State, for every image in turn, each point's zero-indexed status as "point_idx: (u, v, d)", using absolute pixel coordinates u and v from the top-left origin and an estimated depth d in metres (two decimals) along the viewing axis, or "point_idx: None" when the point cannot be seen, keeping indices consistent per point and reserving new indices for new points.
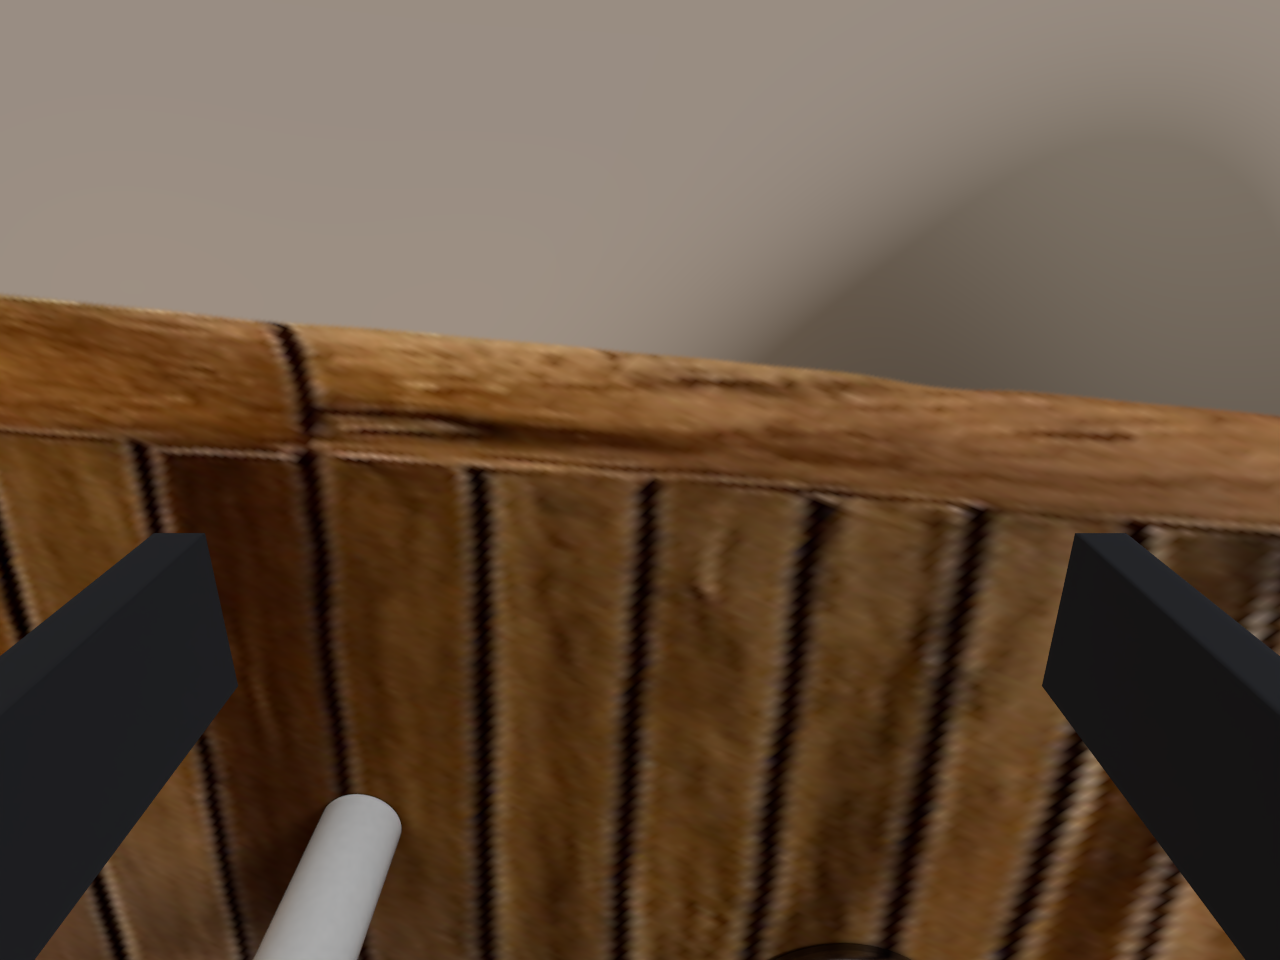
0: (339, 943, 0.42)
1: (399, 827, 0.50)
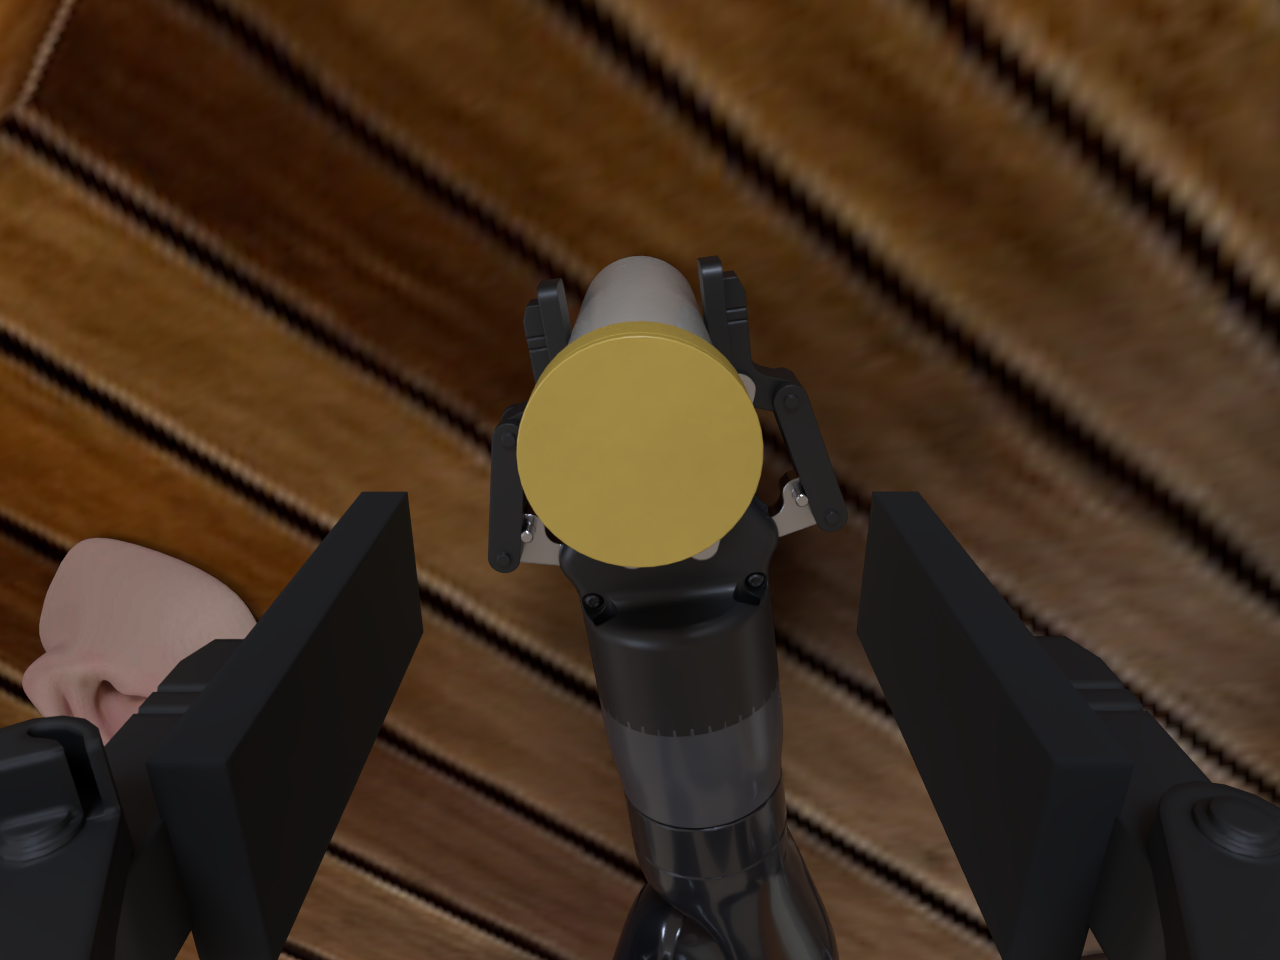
0: (637, 293, 0.26)
1: (670, 266, 0.34)
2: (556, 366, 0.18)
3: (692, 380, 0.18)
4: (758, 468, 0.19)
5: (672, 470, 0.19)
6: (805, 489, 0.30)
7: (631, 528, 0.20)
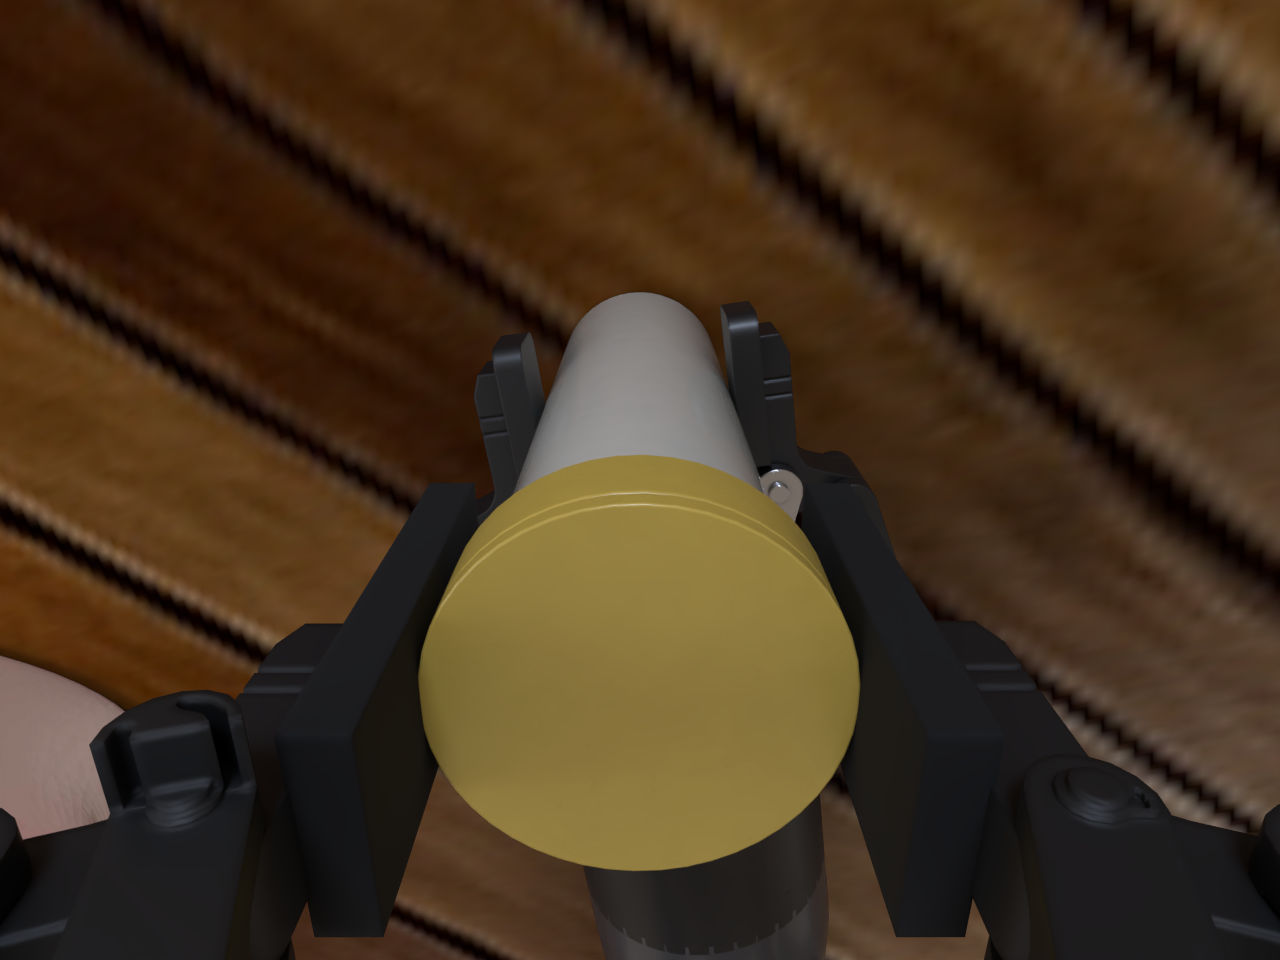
0: (636, 365, 0.17)
1: (680, 306, 0.26)
2: (484, 554, 0.10)
3: (736, 580, 0.10)
4: (850, 723, 0.11)
5: (696, 725, 0.11)
6: None
7: (624, 814, 0.11)
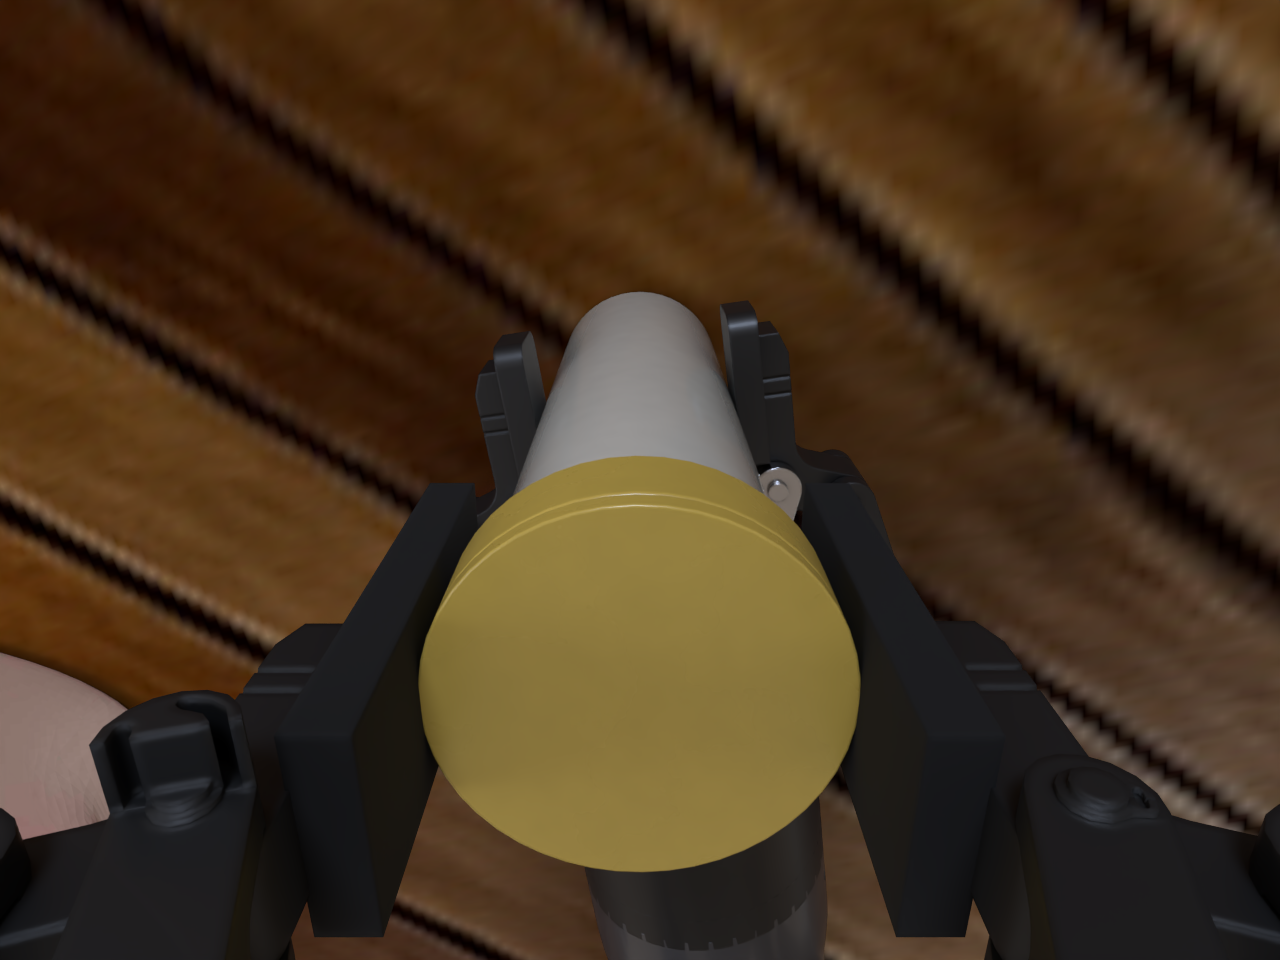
0: (636, 364, 0.17)
1: (680, 305, 0.26)
2: (490, 818, 0.11)
3: (486, 633, 0.10)
4: (649, 514, 0.10)
5: (660, 657, 0.10)
6: None
7: (777, 716, 0.11)
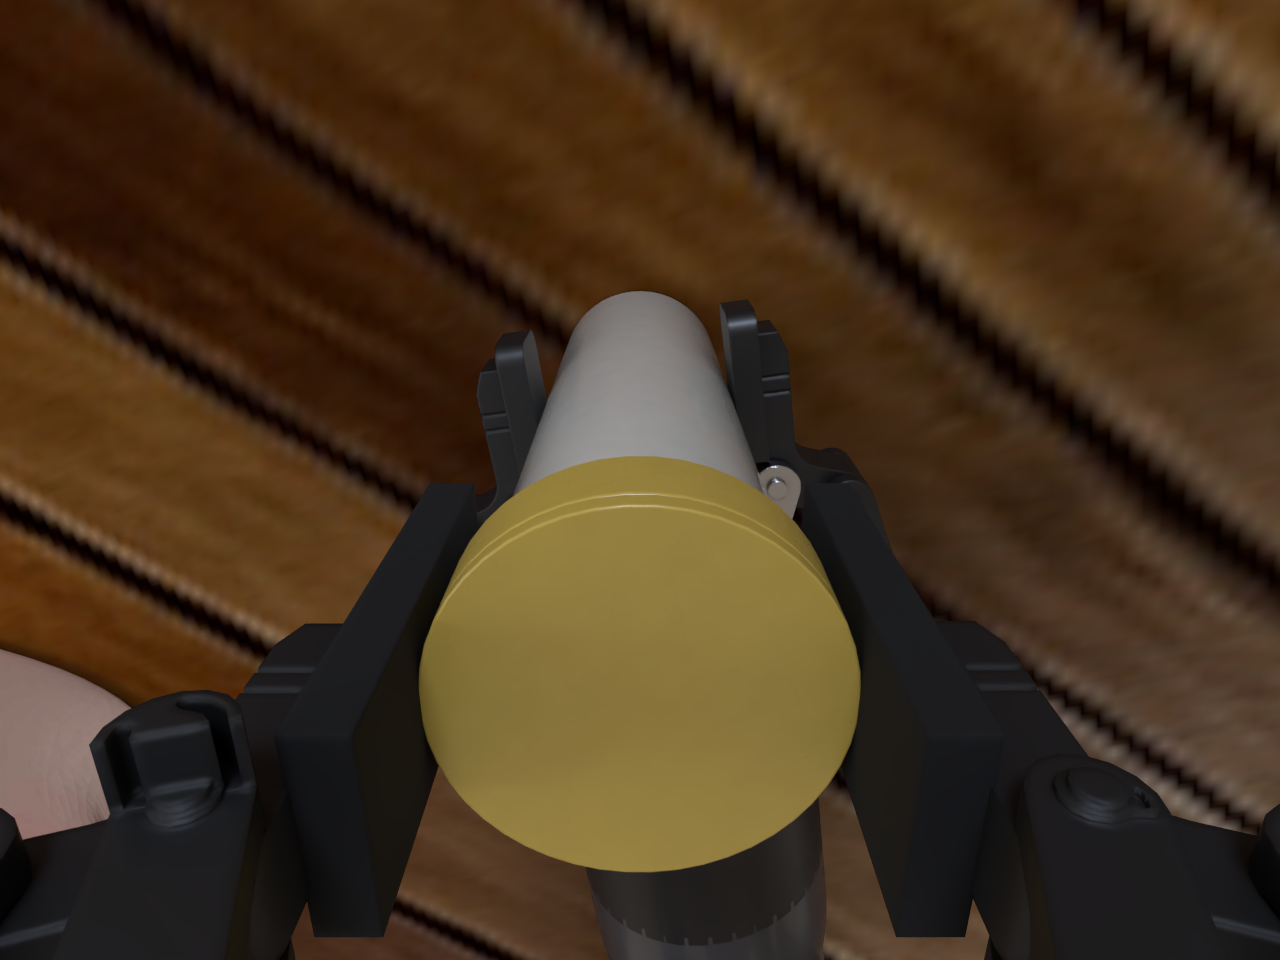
0: (637, 362, 0.18)
1: (680, 304, 0.26)
2: None
3: (565, 824, 0.11)
4: (425, 709, 0.11)
5: (578, 692, 0.11)
6: None
7: (644, 585, 0.10)
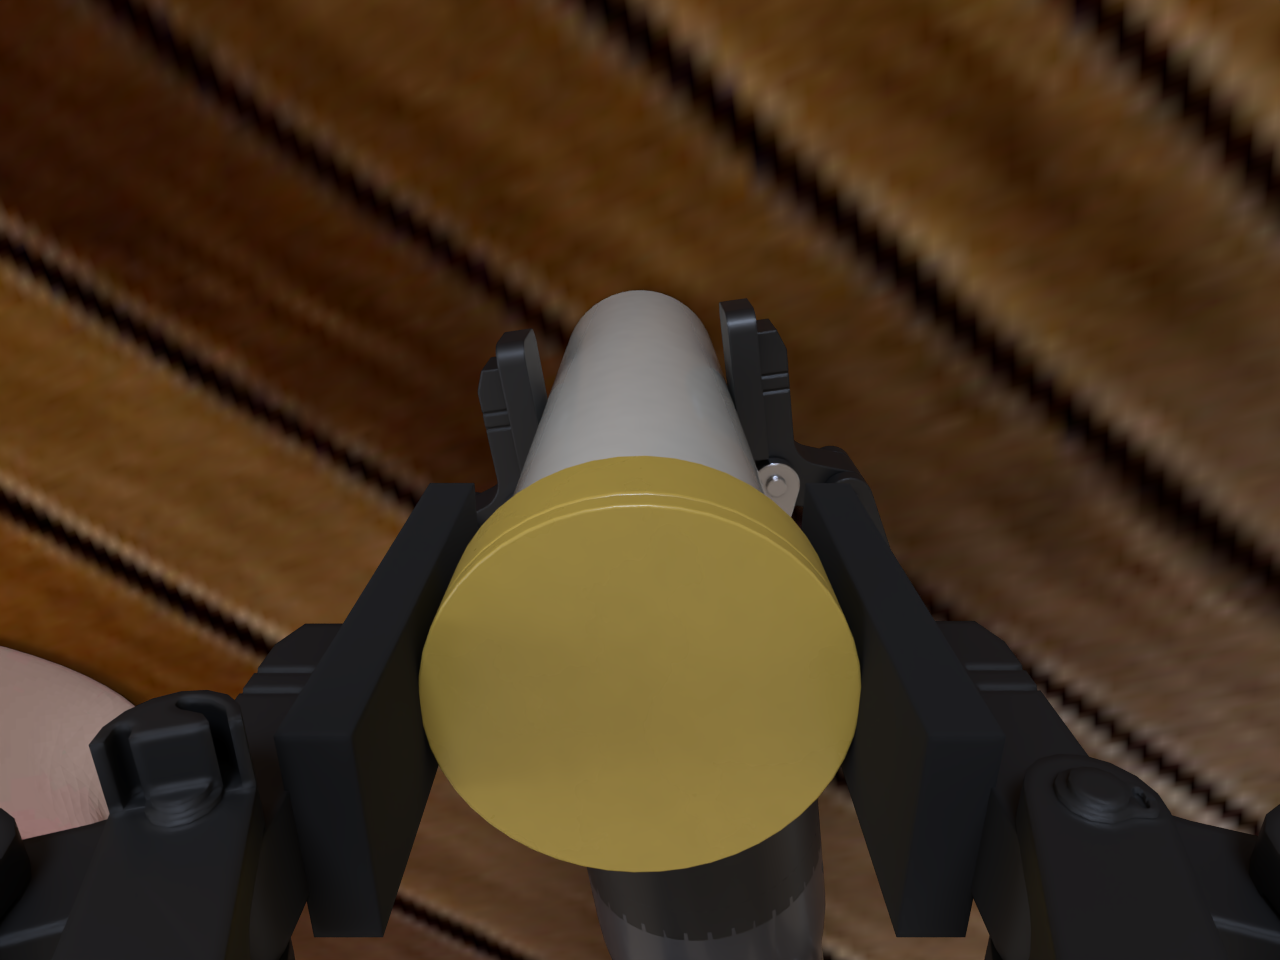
0: (637, 360, 0.18)
1: (680, 303, 0.26)
2: (797, 558, 0.10)
3: (788, 766, 0.11)
4: (647, 870, 0.12)
5: (624, 756, 0.11)
6: None
7: (500, 709, 0.11)
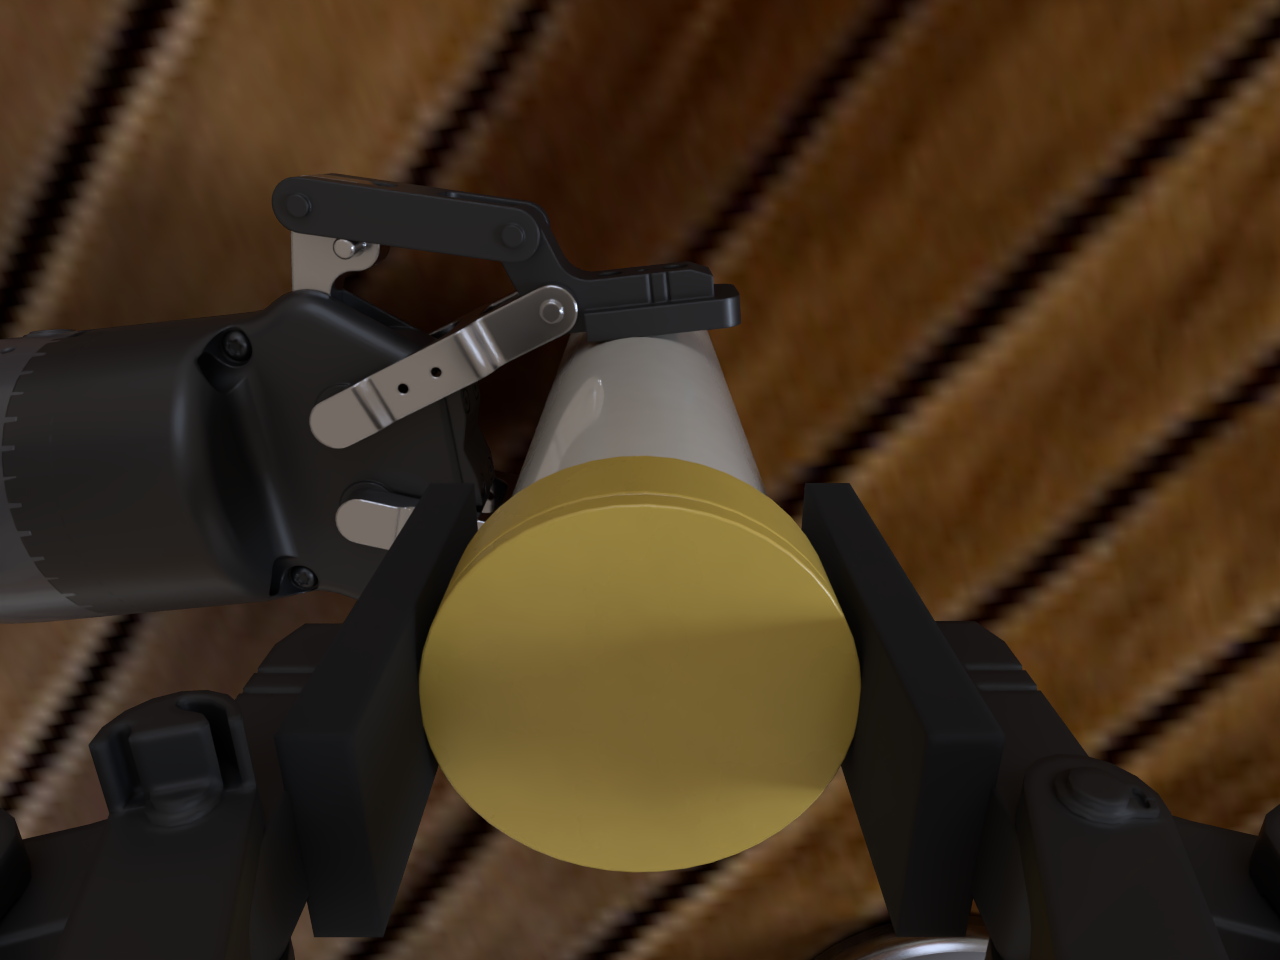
0: None
1: None
2: (797, 558, 0.10)
3: (788, 766, 0.11)
4: (647, 870, 0.12)
5: (624, 756, 0.11)
6: None
7: (500, 708, 0.11)
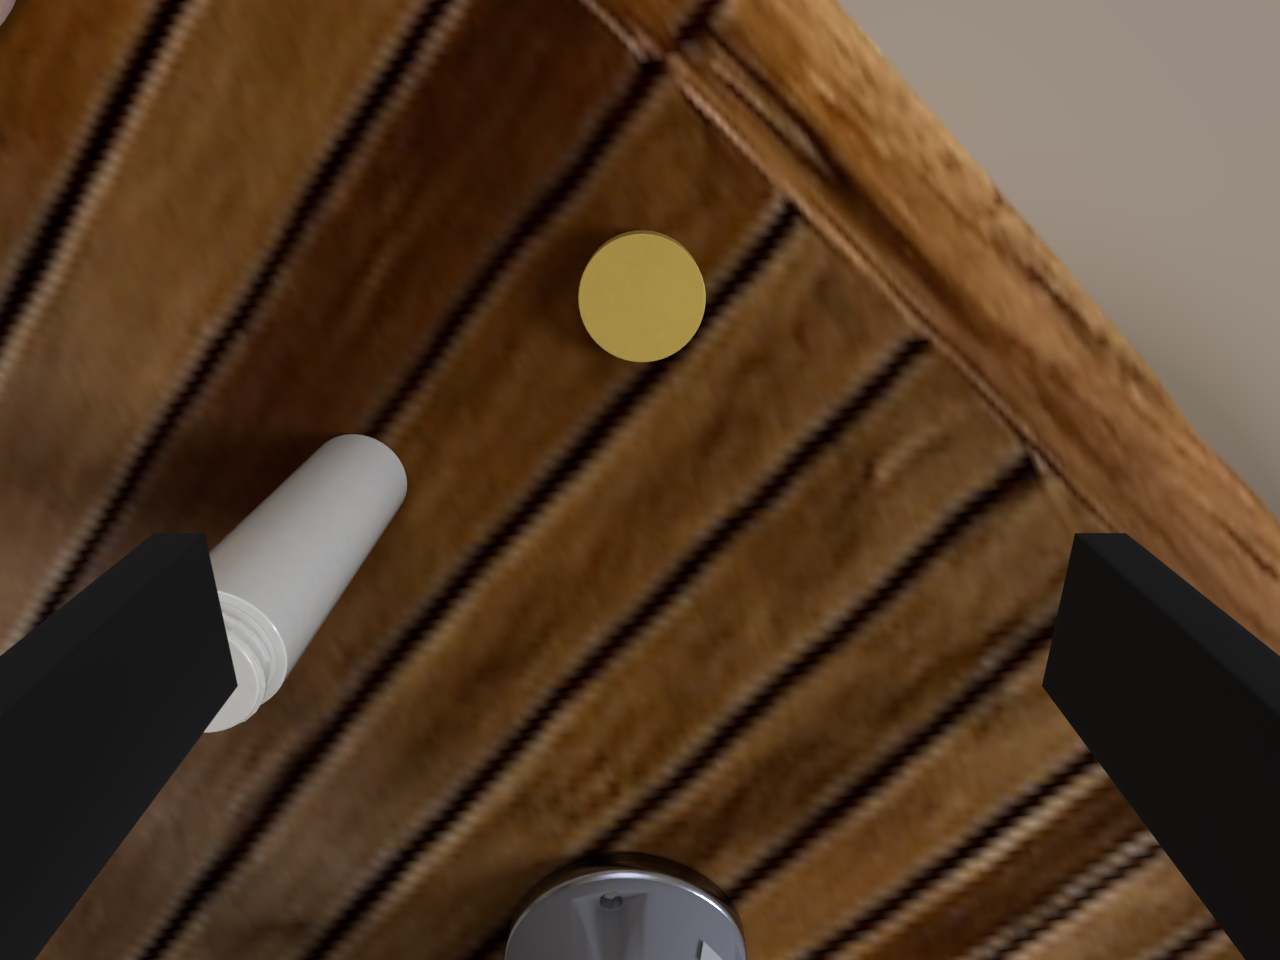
0: (347, 566, 0.33)
1: (399, 506, 0.42)
2: (685, 251, 0.36)
3: (685, 320, 0.37)
4: (644, 360, 0.38)
5: (637, 317, 0.37)
6: None
7: (601, 300, 0.37)
